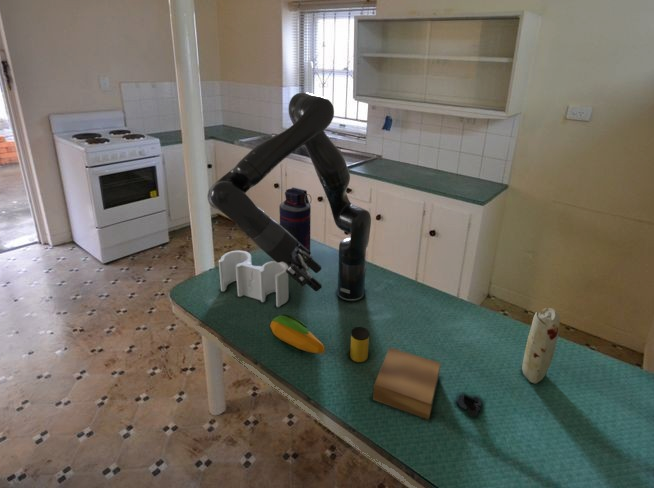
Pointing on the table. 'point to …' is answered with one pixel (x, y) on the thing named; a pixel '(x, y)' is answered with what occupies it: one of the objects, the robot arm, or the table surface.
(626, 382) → the table surface
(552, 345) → the food model
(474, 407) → the block figure
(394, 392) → the wood block
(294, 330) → the corn
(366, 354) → the tin
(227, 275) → the bracket
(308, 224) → the navy water bottle
